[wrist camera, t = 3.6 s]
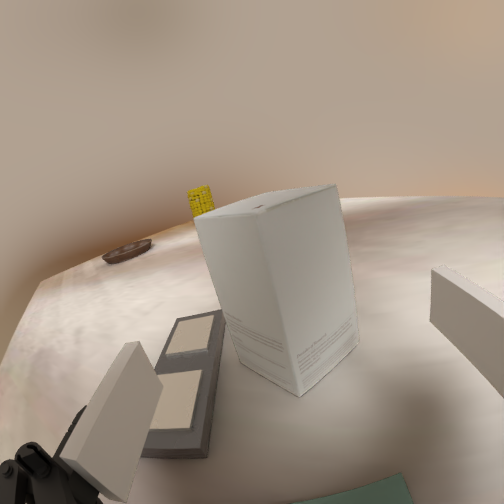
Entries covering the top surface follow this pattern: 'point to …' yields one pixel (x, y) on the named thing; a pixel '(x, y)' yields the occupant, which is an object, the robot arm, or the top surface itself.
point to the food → (200, 200)
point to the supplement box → (284, 282)
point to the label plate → (187, 388)
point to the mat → (371, 494)
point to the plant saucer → (127, 251)
